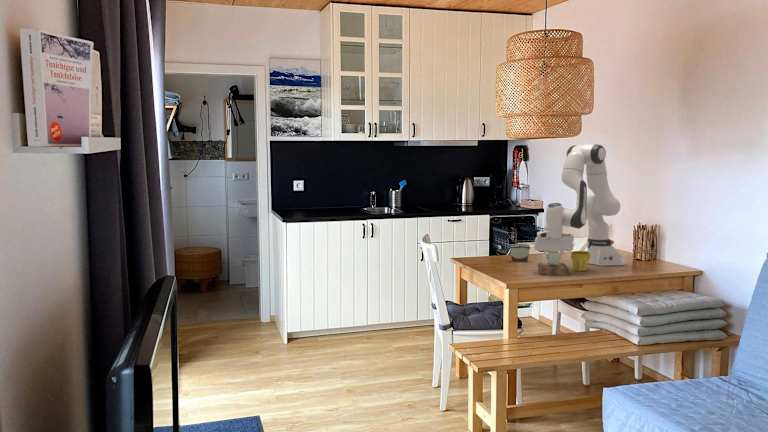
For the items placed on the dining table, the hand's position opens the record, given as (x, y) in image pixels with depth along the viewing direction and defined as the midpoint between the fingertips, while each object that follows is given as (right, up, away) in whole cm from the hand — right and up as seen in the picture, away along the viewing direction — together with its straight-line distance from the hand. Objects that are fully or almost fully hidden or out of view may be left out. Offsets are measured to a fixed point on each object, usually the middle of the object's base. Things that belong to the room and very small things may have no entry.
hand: (553, 258), depth 349 cm
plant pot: (+17, -7, +8) cm, 20 cm away
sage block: (0, -2, 0) cm, 2 cm away
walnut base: (0, -8, +1) cm, 8 cm away
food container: (-12, -4, +33) cm, 35 cm away
